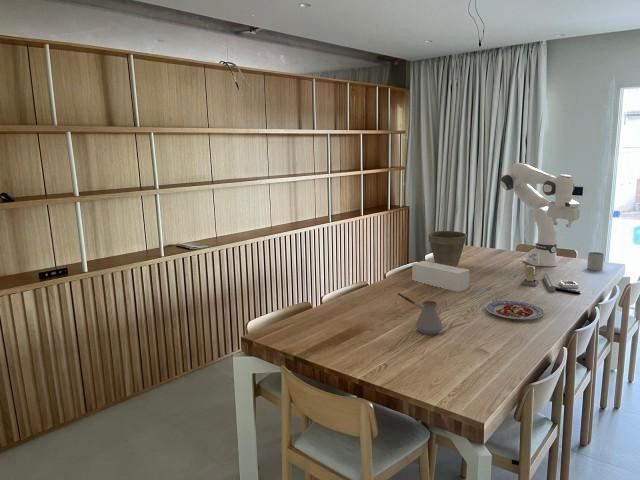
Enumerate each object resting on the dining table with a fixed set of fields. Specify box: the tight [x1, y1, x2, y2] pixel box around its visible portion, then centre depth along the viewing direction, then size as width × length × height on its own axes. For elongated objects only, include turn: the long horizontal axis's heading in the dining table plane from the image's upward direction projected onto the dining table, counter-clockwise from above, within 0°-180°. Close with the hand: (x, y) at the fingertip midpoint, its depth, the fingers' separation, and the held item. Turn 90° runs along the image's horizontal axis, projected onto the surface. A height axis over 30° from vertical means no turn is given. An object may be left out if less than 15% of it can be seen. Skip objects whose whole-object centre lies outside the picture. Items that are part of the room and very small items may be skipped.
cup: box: [586, 251, 605, 272], centre depth 296 cm, size 8×8×10 cm
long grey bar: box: [542, 273, 556, 293], centre depth 265 cm, size 26×3×3 cm, turn 161°
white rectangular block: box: [411, 260, 471, 293], centre depth 272 cm, size 32×11×11 cm, turn 40°
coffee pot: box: [396, 292, 444, 336], centre depth 204 cm, size 21×12×15 cm, turn 55°
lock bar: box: [525, 265, 536, 282], centre depth 267 cm, size 4×4×10 cm
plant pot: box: [428, 230, 468, 267], centre depth 314 cm, size 25×25×22 cm
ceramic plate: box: [485, 300, 545, 320], centre depth 222 cm, size 26×26×3 cm
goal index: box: [520, 277, 539, 287], centre depth 268 cm, size 8×8×2 cm
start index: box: [559, 280, 579, 289], centre depth 262 cm, size 8×8×2 cm
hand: (561, 226), depth 274 cm, fingers open, 8 cm apart
